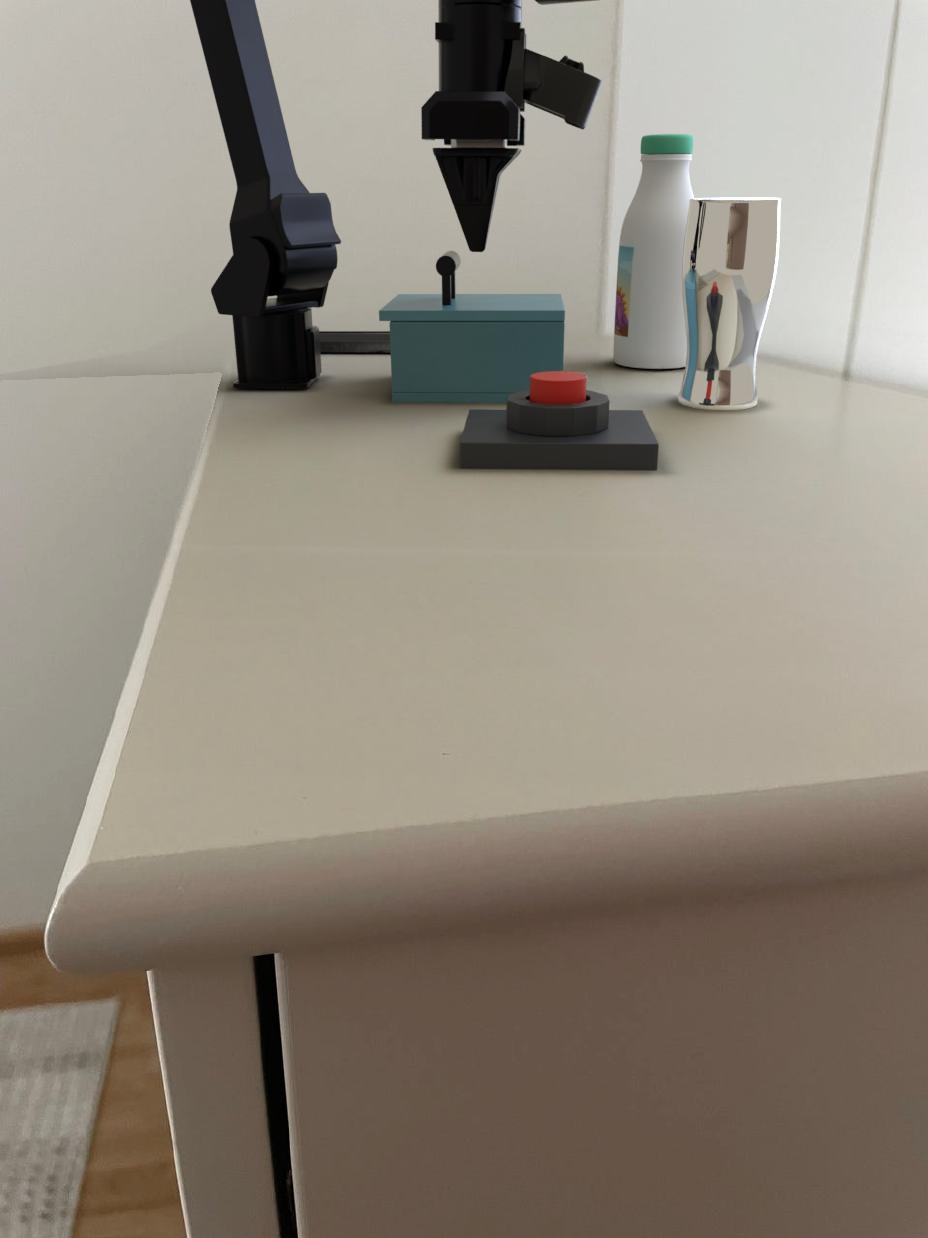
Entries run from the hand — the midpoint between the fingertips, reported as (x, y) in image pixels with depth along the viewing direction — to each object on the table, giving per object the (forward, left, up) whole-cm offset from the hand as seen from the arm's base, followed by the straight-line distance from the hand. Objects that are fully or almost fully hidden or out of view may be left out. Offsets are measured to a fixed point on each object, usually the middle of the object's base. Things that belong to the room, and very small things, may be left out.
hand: (477, 251), depth 77 cm
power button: (+6, -14, -8) cm, 18 cm away
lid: (-1, +8, -5) cm, 9 cm away
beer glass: (+19, +2, -12) cm, 22 cm away
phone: (-14, +31, -12) cm, 36 cm away
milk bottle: (+16, +21, -12) cm, 29 cm away
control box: (+6, -14, -12) cm, 19 cm away
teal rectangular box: (0, +8, -12) cm, 14 cm away
